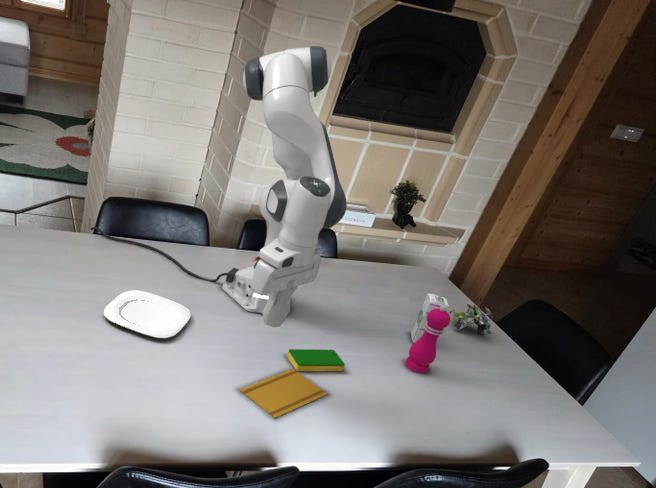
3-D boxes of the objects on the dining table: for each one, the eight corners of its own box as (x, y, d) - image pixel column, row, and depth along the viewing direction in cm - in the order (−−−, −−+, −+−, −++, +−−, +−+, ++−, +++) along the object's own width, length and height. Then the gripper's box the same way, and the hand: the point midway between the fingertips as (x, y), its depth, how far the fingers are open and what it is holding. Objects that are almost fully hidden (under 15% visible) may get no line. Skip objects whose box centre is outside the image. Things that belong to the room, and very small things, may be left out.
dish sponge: (286, 356, 175) (288, 348, 173) (331, 356, 179) (333, 349, 177) (296, 371, 169) (298, 364, 168) (342, 371, 173) (345, 364, 172)
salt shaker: (258, 314, 159) (272, 268, 152) (280, 317, 160) (295, 271, 153) (263, 327, 155) (278, 280, 147) (285, 330, 156) (301, 283, 148)
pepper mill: (428, 364, 185) (457, 304, 174) (428, 377, 179) (458, 315, 168) (403, 356, 186) (431, 296, 175) (403, 368, 180) (431, 307, 169)
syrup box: (430, 347, 194) (450, 305, 186) (411, 342, 194) (430, 300, 186) (428, 338, 198) (447, 297, 190) (409, 333, 199) (427, 292, 191)
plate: (94, 320, 172) (94, 315, 171) (129, 290, 190) (129, 285, 189) (168, 348, 168) (169, 342, 167) (196, 314, 185) (198, 309, 184)
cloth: (239, 390, 157) (239, 389, 157) (292, 369, 170) (292, 368, 169) (275, 418, 151) (275, 417, 150) (327, 394, 163) (327, 393, 163)
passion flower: (470, 346, 211) (502, 333, 201) (446, 341, 206) (478, 327, 196) (463, 315, 215) (494, 300, 205) (440, 309, 210) (470, 294, 200)
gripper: (312, 238, 155) (296, 288, 163) (254, 250, 142) (239, 304, 150) (332, 249, 151) (314, 300, 159) (275, 263, 139) (258, 318, 147)
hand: (277, 302), depth 154 cm, fingers closed on salt shaker, 3 cm apart
